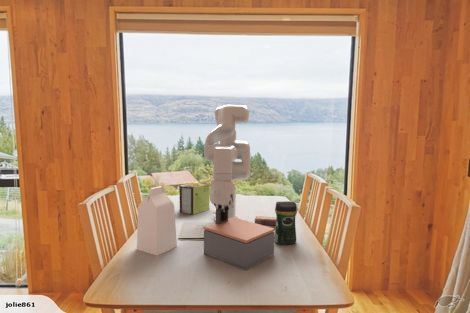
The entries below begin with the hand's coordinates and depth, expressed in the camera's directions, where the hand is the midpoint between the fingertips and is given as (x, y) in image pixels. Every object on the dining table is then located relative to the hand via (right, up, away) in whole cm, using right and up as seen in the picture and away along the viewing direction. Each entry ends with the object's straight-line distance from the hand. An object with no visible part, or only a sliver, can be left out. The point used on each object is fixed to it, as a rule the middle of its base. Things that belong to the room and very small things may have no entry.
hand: (221, 219), depth 147 cm
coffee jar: (+28, -12, +10) cm, 32 cm away
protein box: (-18, -5, +58) cm, 61 cm away
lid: (+7, -3, -6) cm, 10 cm away
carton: (+7, -13, -5) cm, 16 cm away
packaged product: (+24, -10, +32) cm, 42 cm away
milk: (-27, -12, +1) cm, 30 cm away
